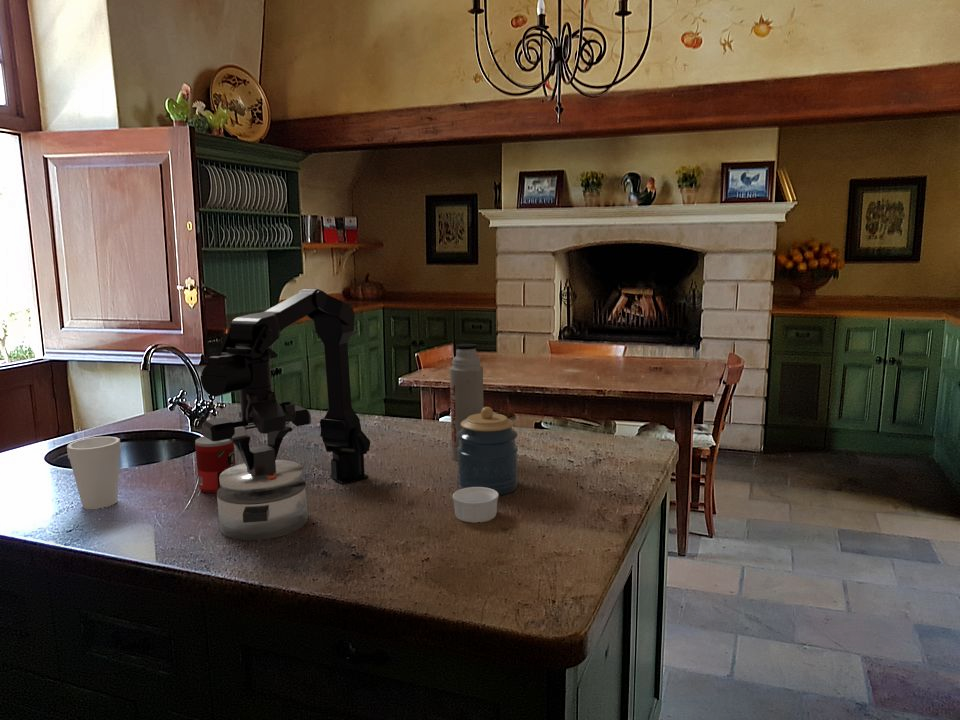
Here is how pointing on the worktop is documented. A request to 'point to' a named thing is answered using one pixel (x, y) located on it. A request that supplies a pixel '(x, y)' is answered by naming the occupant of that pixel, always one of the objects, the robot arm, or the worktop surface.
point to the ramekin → (475, 504)
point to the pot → (262, 512)
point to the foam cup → (96, 470)
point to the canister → (487, 452)
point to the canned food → (213, 462)
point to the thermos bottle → (464, 389)
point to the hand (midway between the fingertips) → (261, 467)
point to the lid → (261, 472)
